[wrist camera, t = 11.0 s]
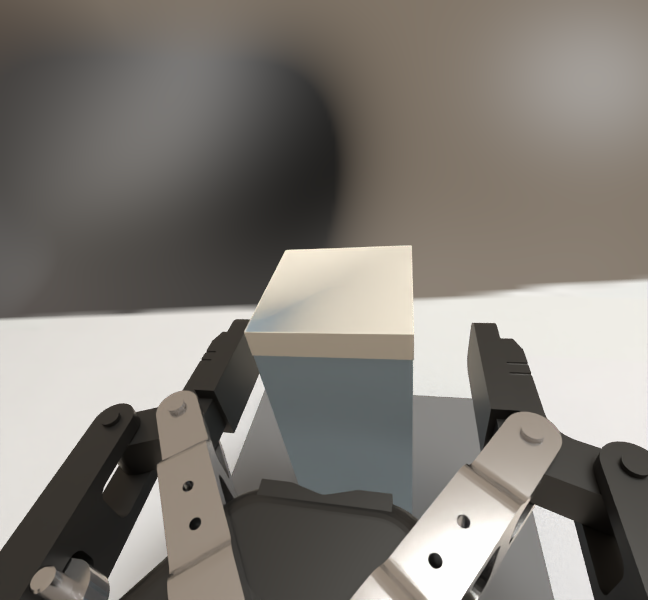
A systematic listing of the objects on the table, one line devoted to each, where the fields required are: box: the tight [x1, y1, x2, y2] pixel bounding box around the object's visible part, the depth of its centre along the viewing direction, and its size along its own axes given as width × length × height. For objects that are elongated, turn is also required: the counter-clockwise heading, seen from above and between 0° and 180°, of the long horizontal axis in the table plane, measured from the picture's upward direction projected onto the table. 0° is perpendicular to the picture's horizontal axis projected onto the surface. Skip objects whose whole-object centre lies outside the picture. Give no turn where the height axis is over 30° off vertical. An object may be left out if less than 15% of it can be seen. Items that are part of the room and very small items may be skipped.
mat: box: [231, 390, 554, 600], centre depth 17 cm, size 14×12×1 cm
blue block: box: [244, 246, 414, 514], centre depth 14 cm, size 4×4×12 cm
